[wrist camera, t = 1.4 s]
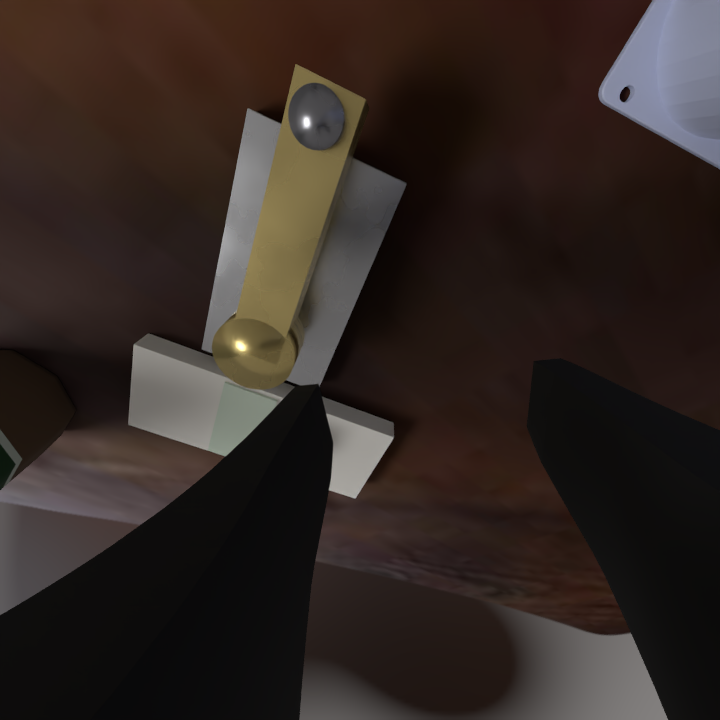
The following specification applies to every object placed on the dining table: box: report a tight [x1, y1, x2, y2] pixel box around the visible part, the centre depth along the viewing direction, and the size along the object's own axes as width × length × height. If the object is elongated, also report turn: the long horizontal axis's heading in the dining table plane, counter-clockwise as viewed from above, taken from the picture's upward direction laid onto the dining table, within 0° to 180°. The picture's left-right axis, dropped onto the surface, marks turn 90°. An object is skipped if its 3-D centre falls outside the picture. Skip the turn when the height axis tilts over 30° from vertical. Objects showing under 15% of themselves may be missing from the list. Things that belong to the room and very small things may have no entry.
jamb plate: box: [202, 109, 407, 387], centre depth 17 cm, size 7×12×2 cm, turn 158°
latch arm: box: [212, 64, 369, 390], centre depth 14 cm, size 4×12×3 cm, turn 158°
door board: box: [128, 333, 394, 498], centre depth 22 cm, size 16×6×4 cm, turn 68°
